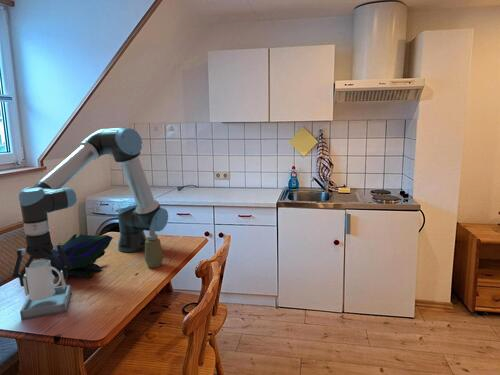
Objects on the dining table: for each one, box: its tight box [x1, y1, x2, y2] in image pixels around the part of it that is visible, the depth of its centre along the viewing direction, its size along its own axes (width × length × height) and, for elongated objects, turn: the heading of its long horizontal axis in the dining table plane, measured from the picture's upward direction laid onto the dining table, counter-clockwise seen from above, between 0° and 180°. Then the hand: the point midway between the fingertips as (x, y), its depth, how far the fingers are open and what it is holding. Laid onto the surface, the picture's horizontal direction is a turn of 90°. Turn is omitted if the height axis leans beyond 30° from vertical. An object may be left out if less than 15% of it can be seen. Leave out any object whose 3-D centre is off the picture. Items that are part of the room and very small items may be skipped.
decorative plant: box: [44, 233, 114, 279], centre depth 160 cm, size 21×26×30 cm
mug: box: [24, 259, 62, 300], centre depth 134 cm, size 12×8×12 cm
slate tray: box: [19, 284, 72, 321], centre depth 136 cm, size 14×17×3 cm
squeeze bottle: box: [144, 227, 164, 269], centre depth 168 cm, size 8×8×18 cm
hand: (46, 290), depth 135 cm, fingers closed on mug, 11 cm apart
